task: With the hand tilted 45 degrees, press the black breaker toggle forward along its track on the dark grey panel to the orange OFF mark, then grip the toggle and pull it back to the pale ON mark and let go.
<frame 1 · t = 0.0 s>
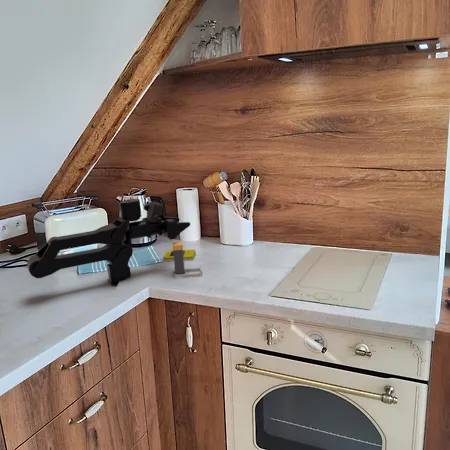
hand: (184, 221, 164), 17 cm above the worktop, tool horizontal, fingers open, 9 cm apart
emergency button: (181, 262, 175), on the worktop
breaker panel: (187, 277, 156), on the worktop
toggle: (178, 259, 154), point 7 cm above the worktop, slide at 0.0 cm
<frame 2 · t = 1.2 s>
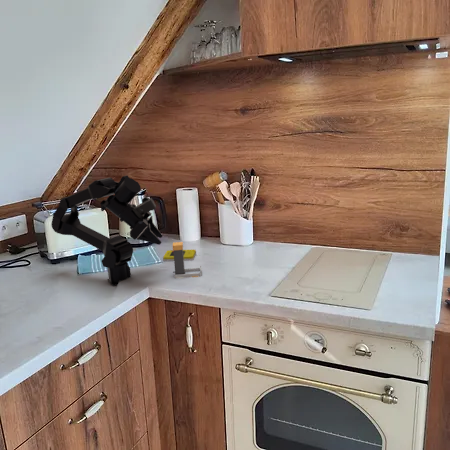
hand: (161, 240, 153), 14 cm above the worktop, tool tilted 45°, fingers open, 8 cm apart
nothing on the worktop moved.
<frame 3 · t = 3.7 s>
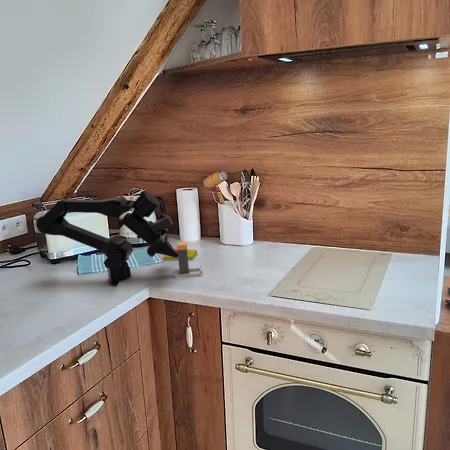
hand: (177, 256, 154), 8 cm above the worktop, tool tilted 45°, fingers closed, pressing on toggle
toggle: (183, 259, 154), point 7 cm above the worktop, slide at 1.4 cm, touching gripper
everything else where it was.
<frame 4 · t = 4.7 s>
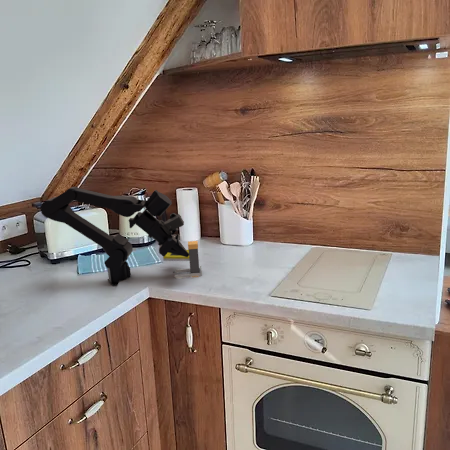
hand: (188, 255, 154), 8 cm above the worktop, tool tilted 45°, fingers closed, pressing on toggle
toggle: (194, 258, 155), point 7 cm above the worktop, slide at 5.0 cm, touching gripper
everything else where it was.
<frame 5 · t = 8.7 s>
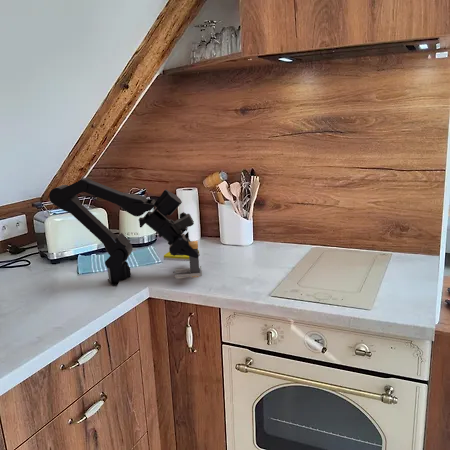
hand: (198, 255, 154), 8 cm above the worktop, tool tilted 45°, fingers closed on toggle, 4 cm apart
toggle: (194, 258, 155), point 7 cm above the worktop, slide at 5.0 cm, touching gripper
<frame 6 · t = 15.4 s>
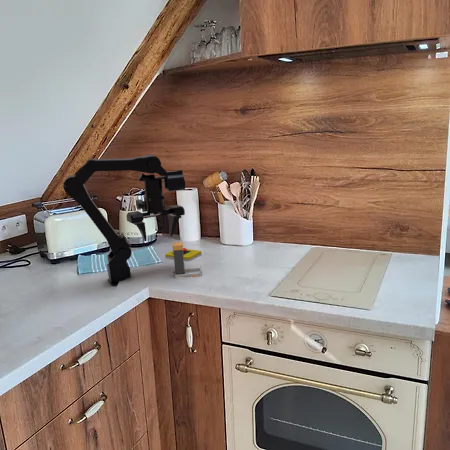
hand: (158, 238, 157), 13 cm above the worktop, tool pointing down, fingers open, 9 cm apart
toggle: (179, 259, 154), point 7 cm above the worktop, slide at 0.0 cm
at the end: toggle slide at 0.0 cm; the gripper is holding nothing; emergency button moved 1.7 cm from its start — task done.
